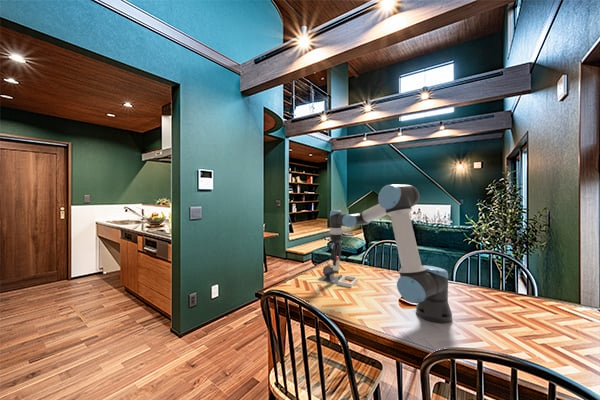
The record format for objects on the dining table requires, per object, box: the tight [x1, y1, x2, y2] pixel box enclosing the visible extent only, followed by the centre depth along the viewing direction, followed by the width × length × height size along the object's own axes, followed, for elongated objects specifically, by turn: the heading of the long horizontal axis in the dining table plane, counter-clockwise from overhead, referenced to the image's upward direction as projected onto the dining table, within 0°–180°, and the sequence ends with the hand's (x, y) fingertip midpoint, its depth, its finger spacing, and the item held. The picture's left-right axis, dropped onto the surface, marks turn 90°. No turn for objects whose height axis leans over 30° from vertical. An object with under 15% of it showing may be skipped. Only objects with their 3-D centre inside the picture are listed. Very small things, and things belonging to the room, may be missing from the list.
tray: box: [337, 275, 359, 288], centre depth 155 cm, size 13×9×3 cm
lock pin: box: [334, 256, 340, 275], centre depth 158 cm, size 3×3×11 cm
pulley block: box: [317, 264, 343, 285], centre depth 162 cm, size 13×15×9 cm
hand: (336, 269), depth 158 cm, fingers closed on lock pin, 3 cm apart
